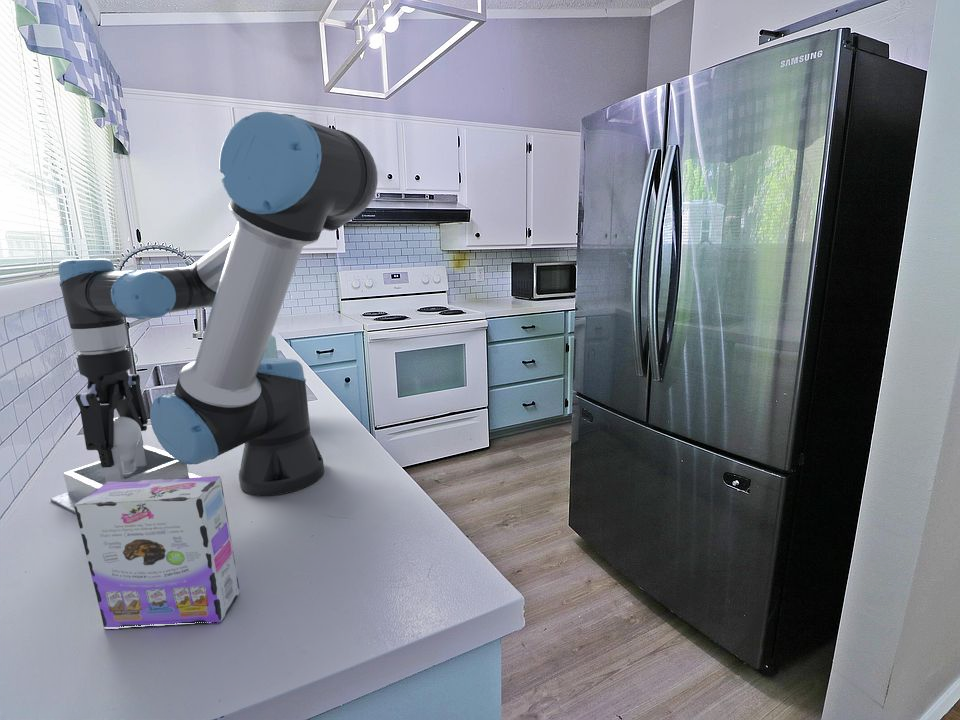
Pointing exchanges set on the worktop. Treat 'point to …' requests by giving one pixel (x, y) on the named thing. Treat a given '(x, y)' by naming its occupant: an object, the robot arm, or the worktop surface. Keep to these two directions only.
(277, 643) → the worktop surface
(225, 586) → the candy box
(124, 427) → the lightbulb
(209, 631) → the worktop surface
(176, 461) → the flange
